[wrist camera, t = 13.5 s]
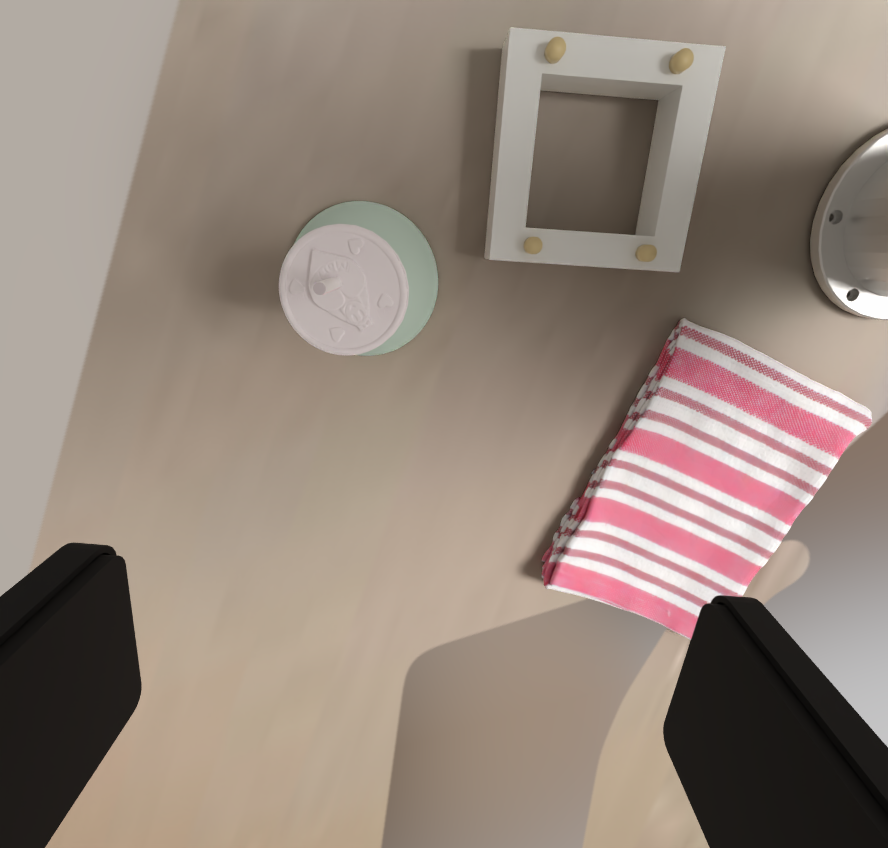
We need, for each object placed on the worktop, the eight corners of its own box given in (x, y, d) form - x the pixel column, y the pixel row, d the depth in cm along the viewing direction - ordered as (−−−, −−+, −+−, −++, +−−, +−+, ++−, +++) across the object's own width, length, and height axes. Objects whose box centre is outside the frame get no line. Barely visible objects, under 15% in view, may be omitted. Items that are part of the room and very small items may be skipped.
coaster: (442, 207, 34) (442, 206, 33) (433, 357, 37) (433, 359, 36) (287, 196, 33) (284, 195, 33) (292, 350, 36) (290, 351, 36)
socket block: (697, 65, 31) (734, 40, 28) (657, 270, 35) (685, 273, 32) (502, 48, 31) (512, 21, 27) (484, 258, 35) (491, 260, 31)
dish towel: (529, 567, 44) (537, 594, 40) (674, 311, 37) (699, 317, 34) (697, 628, 46) (718, 658, 43) (862, 400, 40) (902, 414, 36)
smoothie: (376, 210, 33) (345, 182, 20) (431, 296, 35) (435, 323, 22) (296, 266, 34) (214, 276, 21) (353, 347, 36) (312, 404, 23)
